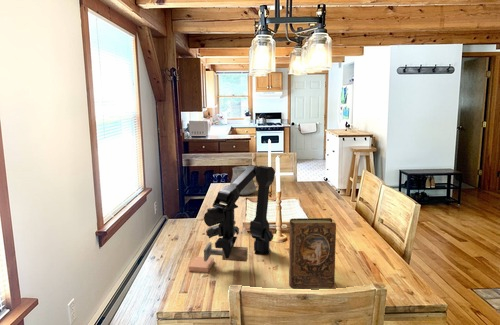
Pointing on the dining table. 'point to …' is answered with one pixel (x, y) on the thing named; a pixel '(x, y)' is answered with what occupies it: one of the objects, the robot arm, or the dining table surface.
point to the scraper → (235, 255)
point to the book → (312, 253)
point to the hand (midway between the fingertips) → (228, 256)
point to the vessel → (250, 186)
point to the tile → (201, 264)
